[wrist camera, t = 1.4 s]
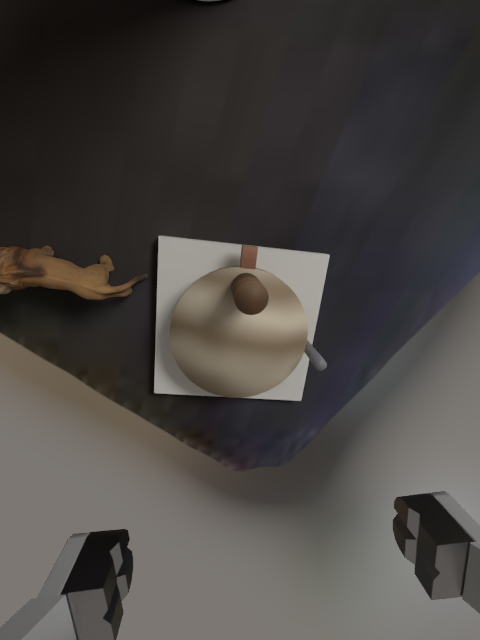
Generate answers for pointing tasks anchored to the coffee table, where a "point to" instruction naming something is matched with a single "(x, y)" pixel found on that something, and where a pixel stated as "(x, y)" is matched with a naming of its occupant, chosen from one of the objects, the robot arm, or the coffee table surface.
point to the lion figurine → (58, 274)
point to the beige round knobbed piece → (238, 330)
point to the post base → (206, 256)
